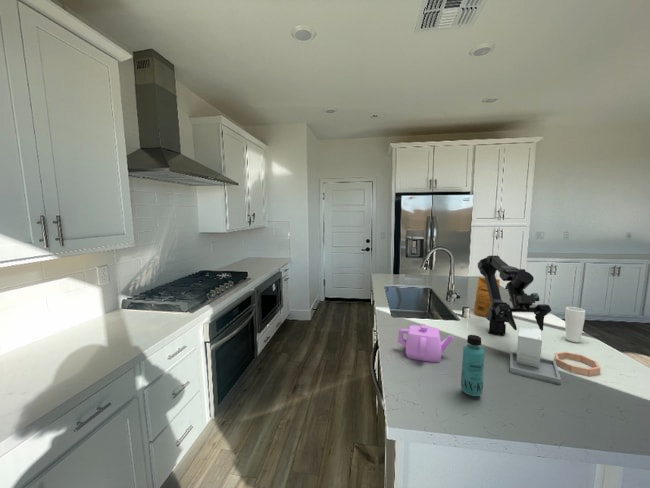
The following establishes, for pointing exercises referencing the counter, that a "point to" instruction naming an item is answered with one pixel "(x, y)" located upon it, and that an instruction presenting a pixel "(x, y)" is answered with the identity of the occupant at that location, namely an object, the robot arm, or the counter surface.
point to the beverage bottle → (472, 366)
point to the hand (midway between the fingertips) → (528, 330)
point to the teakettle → (423, 343)
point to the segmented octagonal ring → (576, 369)
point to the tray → (536, 369)
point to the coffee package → (483, 297)
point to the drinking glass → (574, 323)
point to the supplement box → (529, 346)
